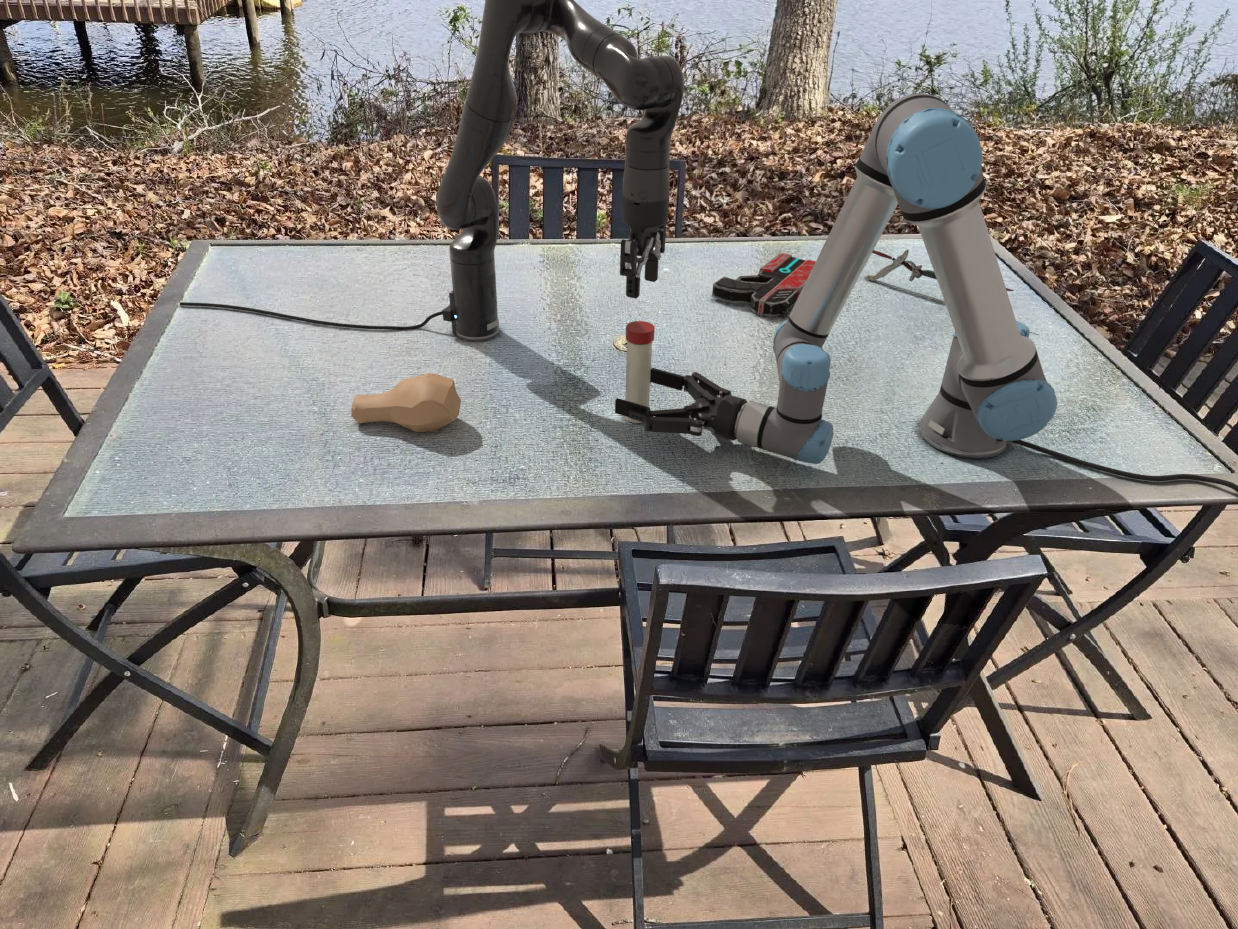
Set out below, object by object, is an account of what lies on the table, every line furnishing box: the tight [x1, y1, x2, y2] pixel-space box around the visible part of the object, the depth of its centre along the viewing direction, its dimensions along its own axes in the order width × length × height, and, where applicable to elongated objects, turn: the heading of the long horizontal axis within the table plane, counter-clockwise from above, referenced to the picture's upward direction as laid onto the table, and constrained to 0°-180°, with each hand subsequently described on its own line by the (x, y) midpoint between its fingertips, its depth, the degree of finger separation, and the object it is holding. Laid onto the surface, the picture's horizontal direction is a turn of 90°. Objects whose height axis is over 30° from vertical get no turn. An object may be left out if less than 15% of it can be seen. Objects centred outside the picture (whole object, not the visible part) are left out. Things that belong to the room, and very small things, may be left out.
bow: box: [864, 249, 1015, 303], centre depth 212 cm, size 39×2×10 cm, turn 47°
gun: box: [711, 252, 816, 318], centre depth 215 cm, size 4×31×19 cm
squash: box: [350, 372, 462, 433], centre depth 158 cm, size 11×20×9 cm, turn 90°
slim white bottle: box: [624, 340, 653, 424], centre depth 159 cm, size 4×4×18 cm
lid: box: [625, 320, 656, 345], centre depth 154 cm, size 5×5×2 cm
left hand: (641, 288), depth 150 cm, fingers open, 7 cm apart
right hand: (634, 389), depth 160 cm, fingers open, 13 cm apart
